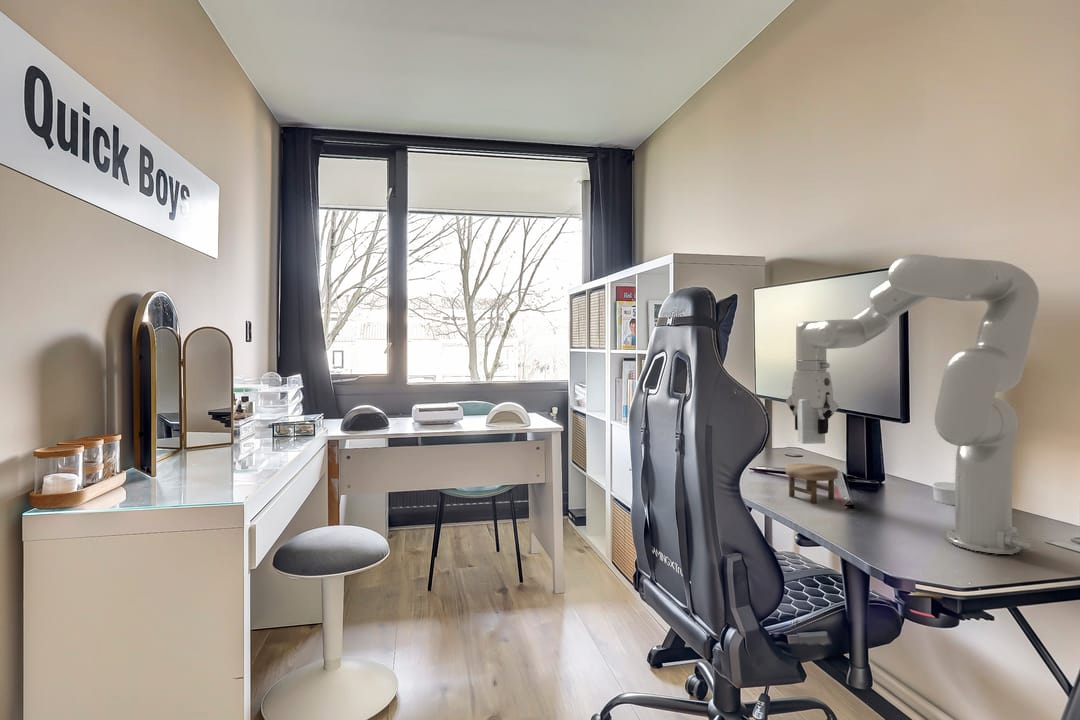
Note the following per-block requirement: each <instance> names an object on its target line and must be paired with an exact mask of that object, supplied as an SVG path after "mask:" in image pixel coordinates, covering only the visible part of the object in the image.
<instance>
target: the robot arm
mask: <svg viewBox="0 0 1080 720" xmlns="http://www.w3.org/2000/svg"><path fill="white" fill-rule="evenodd" d="M930 298H935V299H944V300H950V301H951V300H952V301H958V302H985V303H986V304H987V307H986V311H985V313H984V314H983V316H982V318H981V320H980V323H979V326H978V333H977V337H976V341H975V343H974V346H973V347H968V348H964V349H962V350H959V351H957V353H955V354H954V355H953V356H952V357H951V358H950V359H949V360H948V362H947V364H946V365H945V368H944V371H943V375H942V377H941V378H942V379H941V383H940V388H939V391H938V392H939V394H938V397H937V403H936V407H935V410H934V411H935V412H934V426H935V430H936V431H937V433H938V435H939V436H940V438H942V439H943V440H944V441H945V442H946V443H949V444H951V445H953V446H957V449H956V455H955V456H956V457H955V482H954V483H955V505H954V507H955V508H954V529H950V530H948V531H946V533H945V538H946V540H947V541H948V542H949V543H950V542H951V544H952V543H953V544H952V545H954V544H955V545H954V546H956V545H958V546H957V547H959V546H960V547H959V548H961V547H964V548H967V549H966V550H968V549H971V550H970V551H972V550H978V551H985V552H994V553H1006V554H1007V553H1016V554H1018V553H1020V552H1021V551H1022V549H1023V550H1027V551H1031V552H1033V551H1034V549H1035V545H1036V544H1035V541H1034V539H1033V538H1030V537H1028V536H1022V535H1020V534H1019V533H1018V527H1016V526H1013V525H1012V522H1013V521H1012V518H1013V515H1012V514H1013V476H1014V475H1013V474H1014V472H1013V471H1014V470H1013V468H1014V467H1013V466H1014V451H1015V444H1016V440H1017V434H1018V427H1019V422H1018V421H1019V420H1018V416H1017V413H1016V411H1015V410H1014V408H1013V407H1012V406H1011V404H1009V402H1006V400H1003V399H1002V398H999V397H996V393H1000V392H1004V391H1009V390H1011V389H1013V388H1014V387H1016V386H1017V385H1019V383H1020V381H1021V380H1022V378H1023V374H1024V370H1025V366H1026V360H1027V356H1028V353H1029V348H1030V344H1031V339H1032V334H1033V329H1034V325H1035V321H1036V318H1037V313H1038V310H1039V303H1040V294H1039V289H1038V286H1037V283H1036V281H1035V280H1034V278H1033V277H1032V276H1031V275H1030V274H1029V273H1027V272H1026V271H1025V270H1023V269H1021V268H1020V267H1018V266H1016V265H1013V264H1011V263H1008V262H1006V261H1001V260H992V259H991V260H990V259H976V258H975V259H973V258H961V257H960V258H959V257H956V258H955V257H947V256H946V257H944V256H937V255H931V254H919V253H911V254H906V255H903V256H900V257H899V258H898V259H896V260H894V261H893V263H892V264H891V266H890V267H889V269H888V271H887V280H885V281H884V282H881V284H879V285H877V286H875V287H874V288H873V289H871V291H870V294H869V302H870V303H871V304H870V305H869V306H868V307H867V308H866V309H864V310H863V311H861V313H859V314H858V315H855V316H854V317H852V318H850V319H846V318H845V319H828V320H822V321H820V320H818V321H816V320H815V321H814V320H812V321H800V322H798V323H797V324H796V326H795V327H796V328H795V339H796V340H795V355H796V356H795V358H796V360H795V361H796V362H795V365H796V367H795V368H796V370H795V371H794V373H793V377H792V385H791V394H790V396H788V398H787V399H786V400H785V402H786V405H787V406H788V407H789V409H790V411H791V412H792V416H794V430H795V431H798V418H797V406H798V402H799V399H802V400H808V401H809V406H810V408H813V409H817V411H818V414H819V417H820V419H818V433H819V434H825V435H826V434H828V433H829V419H831V417H832V416H833V415H834V413H835V412H836V411H837V410H838V409H839V407H840V406H839V404H838V403H837V402H836V401H835V399H834V391H833V382H832V376H831V373H830V371H827V370H828V369H830V366H831V364H830V363H829V362H827V349H828V350H829V349H830V350H835V349H837V350H838V349H851V348H853V349H854V348H856V347H860V346H862V345H864V344H866V343H867V342H869V341H871V340H873V339H875V338H877V337H879V335H881V334H883V333H884V332H886V331H887V330H888V329H889V327H890V326H891V325H892V324H893V323H894V322H895V319H896V318H898V317H899V316H901V315H903V314H904V313H906V312H907V311H910V310H911V309H913V308H914V307H916V306H917V305H919V304H921V303H922V302H924V301H925V300H927V299H930ZM823 412H824V413H823ZM964 548H963V549H964ZM1020 550H1021V551H1020ZM1019 551H1020V552H1019ZM1017 552H1018V553H1017Z"/></svg>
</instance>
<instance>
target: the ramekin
mask: <svg viewBox="0 0 1080 720" xmlns="http://www.w3.org/2000/svg"><path fill="white" fill-rule="evenodd" d="M931 487H932V491H933V499H934V501H935V502H938V503H941V504H943V505H944V504H945V505H947V506H948V505H949V506H955V482H951V481H950V482H949V481H937V482H936V481H935V482H932V483H931Z"/></svg>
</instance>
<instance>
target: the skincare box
mask: <svg viewBox="0 0 1080 720" xmlns="http://www.w3.org/2000/svg"><path fill="white" fill-rule="evenodd" d="M823 413H824V412H823ZM797 418H798V430H797V441H798V442H799V443H801V444H803V445H804V444H817V445H819V444H826V433H825V434H819V433H818V419H820V417H819V414H818V411H817V409H813V408H810V406H809V401H808V400H802V399H799V402H798V406H797Z"/></svg>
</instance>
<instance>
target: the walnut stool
mask: <svg viewBox="0 0 1080 720" xmlns="http://www.w3.org/2000/svg"><path fill="white" fill-rule="evenodd" d="M785 475H787V476H788V496H789V498H794V497H795V495H796V494H795V491H797V492H799V493H804V494H806V495H810V503H811V504H813V505H814V504H818V503H817V501H818V500H817V498H818V495H817V494H818V493H817V492H818V490H817V489H820V490H823V491H826V492H827V495H828V496H827V498H828V500H831V501H832V500H833V501H834V500H835V480H836V479H838V477H839V471H838V469H837V468H835V467H832V466H829V465H828V466H827V465H823V464H818V463H817V464H815V463H792V464H791V463H790V464H787V465H786V466H785ZM795 479H797V480H804V481H805V488H802V487H798V486H795ZM820 481H821V482H824V481H825V482H826V481H828V482H827V483H828V484H827V486H825V485H821V484H818V483H817V482H820Z"/></svg>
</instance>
